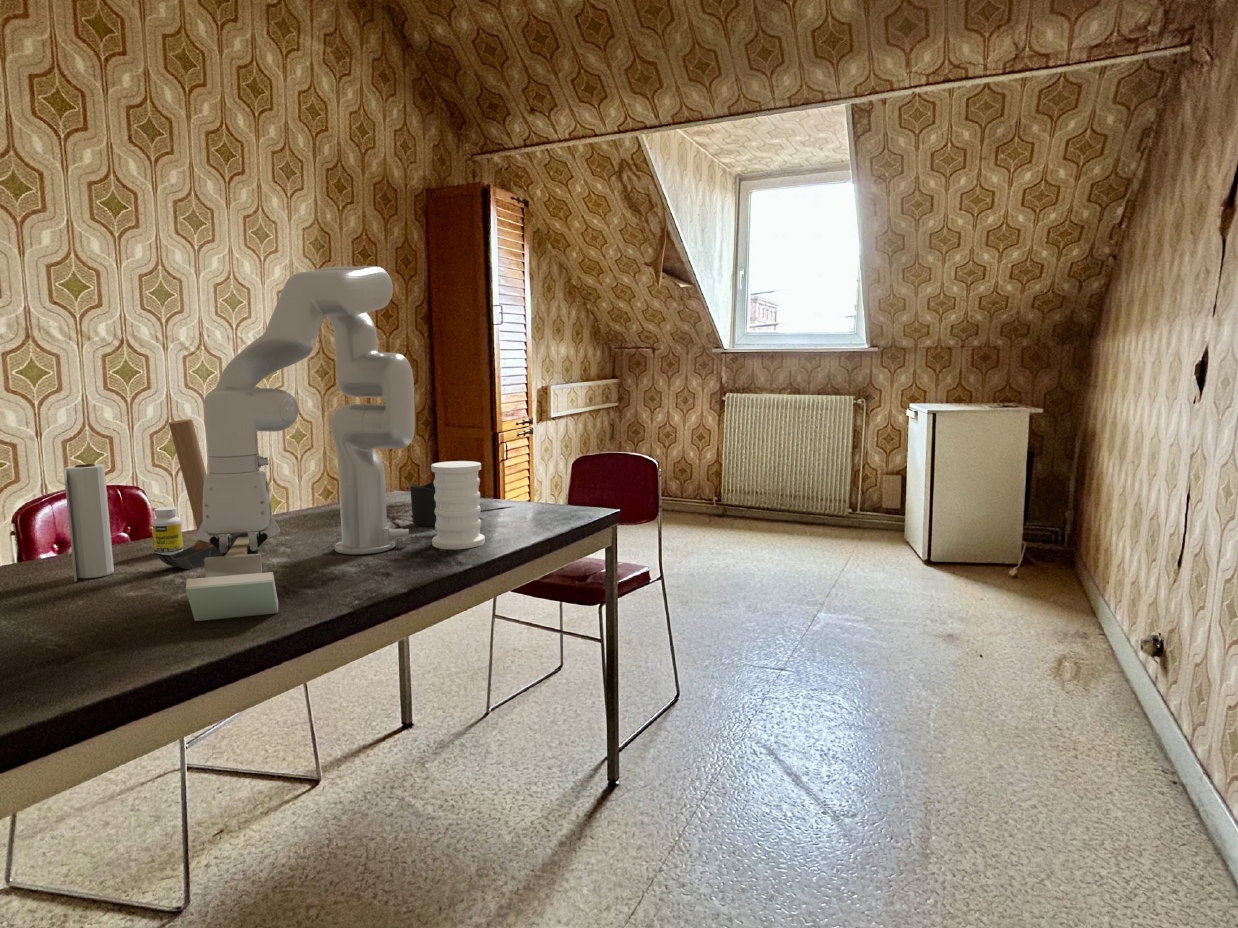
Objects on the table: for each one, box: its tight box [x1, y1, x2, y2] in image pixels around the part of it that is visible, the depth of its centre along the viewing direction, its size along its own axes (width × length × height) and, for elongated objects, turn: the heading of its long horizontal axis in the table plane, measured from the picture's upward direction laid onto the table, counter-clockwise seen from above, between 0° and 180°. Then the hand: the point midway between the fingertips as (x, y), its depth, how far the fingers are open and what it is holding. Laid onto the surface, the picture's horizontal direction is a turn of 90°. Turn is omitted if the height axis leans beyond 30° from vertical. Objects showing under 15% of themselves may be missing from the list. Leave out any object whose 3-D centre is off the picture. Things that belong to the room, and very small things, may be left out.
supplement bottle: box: [151, 506, 184, 556], centre depth 163 cm, size 5×5×10 cm
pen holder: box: [409, 481, 436, 528], centre depth 192 cm, size 9×9×10 cm
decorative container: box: [430, 460, 486, 550], centre depth 170 cm, size 12×12×18 cm
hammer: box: [153, 418, 262, 570], centre depth 153 cm, size 20×5×30 cm, turn 153°
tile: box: [185, 571, 279, 622], centre depth 120 cm, size 12×2×8 cm
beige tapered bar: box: [204, 537, 263, 578], centre depth 128 cm, size 15×8×5 cm, turn 19°
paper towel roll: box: [63, 463, 115, 582], centre depth 145 cm, size 7×6×21 cm
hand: (241, 572), depth 129 cm, fingers closed on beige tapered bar, 2 cm apart
